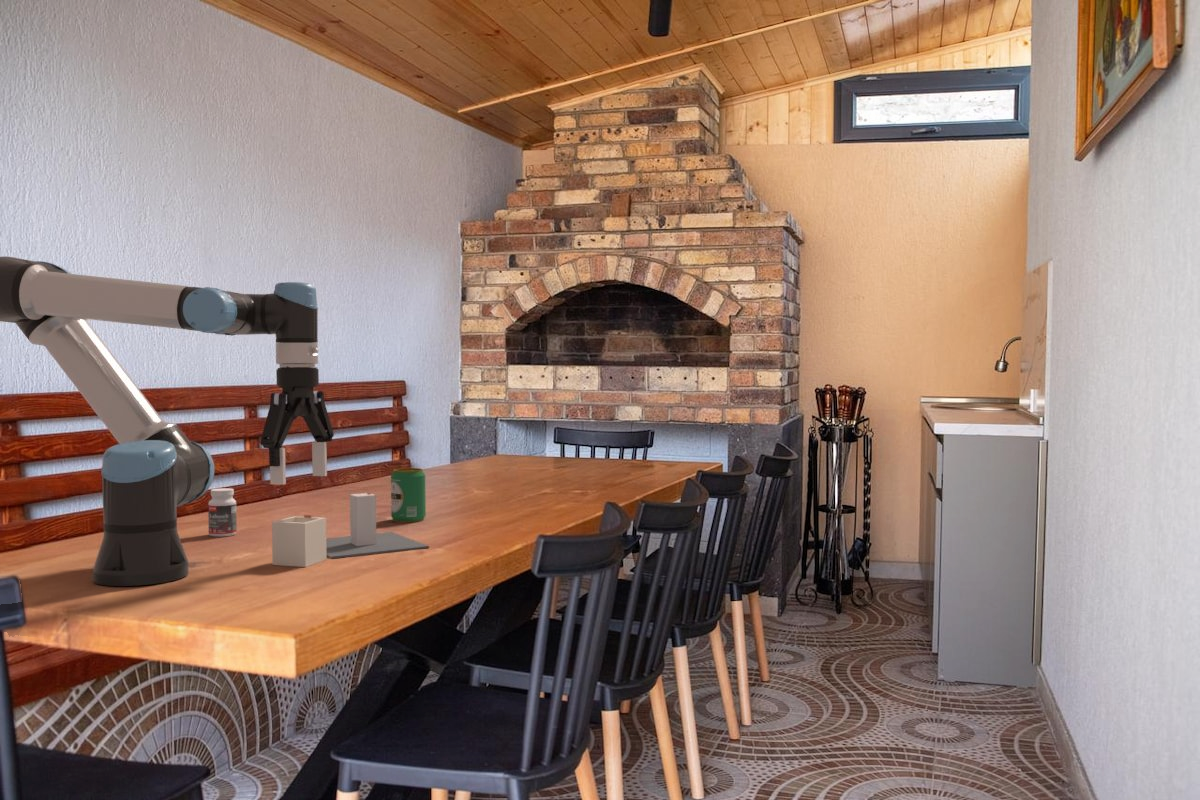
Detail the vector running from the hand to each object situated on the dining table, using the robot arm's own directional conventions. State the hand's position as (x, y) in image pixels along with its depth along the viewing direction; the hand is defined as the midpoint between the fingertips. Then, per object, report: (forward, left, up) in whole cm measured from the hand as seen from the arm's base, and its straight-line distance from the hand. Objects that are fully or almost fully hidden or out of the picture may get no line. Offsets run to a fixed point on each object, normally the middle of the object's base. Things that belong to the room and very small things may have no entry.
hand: (299, 480), depth 189 cm
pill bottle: (-5, +39, -16) cm, 43 cm away
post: (+16, +10, -15) cm, 24 cm away
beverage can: (+36, +36, -16) cm, 54 cm away
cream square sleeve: (0, 0, -15) cm, 15 cm away
